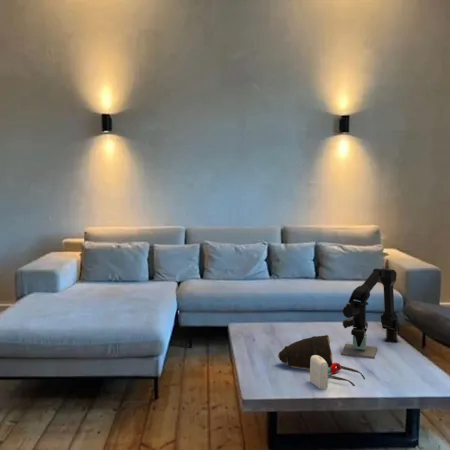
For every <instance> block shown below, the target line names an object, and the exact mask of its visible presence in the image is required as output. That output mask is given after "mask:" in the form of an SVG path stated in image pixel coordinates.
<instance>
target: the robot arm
mask: <svg viewBox="0 0 450 450" xmlns="http://www.w3.org/2000/svg"><path fill="white" fill-rule="evenodd" d="M397 277H398V276H397V271H396V270H395V269H389V268H386V267H385V268H374V269H372V272H371V274H370V275H369V276H368V277H367V278H366V280H365V281H364V282H363V283H362V284H361V285H359V286H357V287H356V288H354V289H353V291H352V292H351V295H350V298H349V299H348V303H346V304H345V305H346V306H344V308H343V309H342V313H343V315H344V317H345V318H346V319H344V320H342V321H341V322H342V326H343V328H344V329H347V328H350V327H352V329H351V331H350V334H351V336H353V335H354V336H355V337H356V341H357V346H358V347H360V345H361V343H362V340H363V338H364V336H365V334H366V332H367V331H368V327H369V323H368V322H367V320H366V319H367V306H368V305H369V302H368V300H369V298H370V296H371V292H372V290H373V288H375V286H376V285H377V284H378V282H379V281H380V282H381V284H382V285H383V307H384V308H383V310H384V312H382V314H381V315H380V323H381V327H382V329H383V330H386V331H385V339H384V342H387V343H388V342H389V343H398V342H399V341H398V340H399V338H398V332H400V331H402V327H403V326H402V325H401V323H400V322H399V319H398V318H399V317H398V315H397V314H396V312H395V301H394V300H395V298H394V297H395V296H394V295H395V293H394V285H395V283H396V281H397Z"/></svg>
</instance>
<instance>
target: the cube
mask: <svg viewBox="0 0 450 450" xmlns="http://www.w3.org/2000/svg"><path fill="white" fill-rule="evenodd" d="M352 344H353V348H354V349H364V350H365V348H366V346H367V334H366V333H365V336H364V338H363V340H362V343H361V345H360V347H358V346H357V341H356V337H355V336H354V335H352Z"/></svg>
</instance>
